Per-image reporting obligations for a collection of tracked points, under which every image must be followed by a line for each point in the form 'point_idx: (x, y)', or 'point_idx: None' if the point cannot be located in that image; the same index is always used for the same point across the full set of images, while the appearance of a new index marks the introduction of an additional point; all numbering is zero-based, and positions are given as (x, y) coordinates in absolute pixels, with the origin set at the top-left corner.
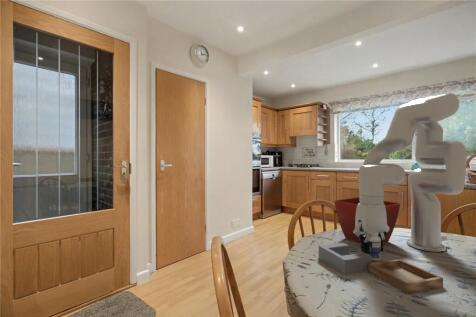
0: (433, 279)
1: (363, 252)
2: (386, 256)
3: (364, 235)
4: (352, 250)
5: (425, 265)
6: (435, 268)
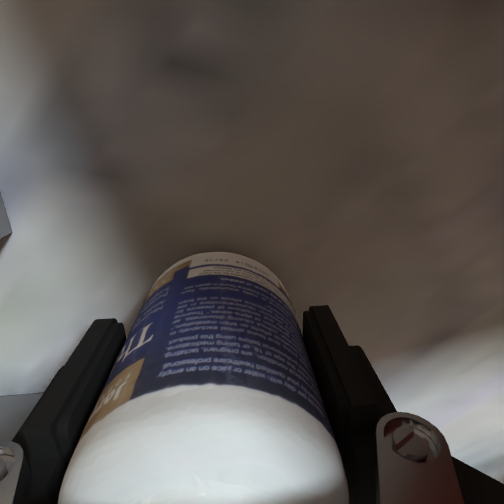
0: None
1: (145, 299)
2: (404, 275)
3: (88, 495)
4: (190, 39)
5: (494, 437)
6: (498, 470)
